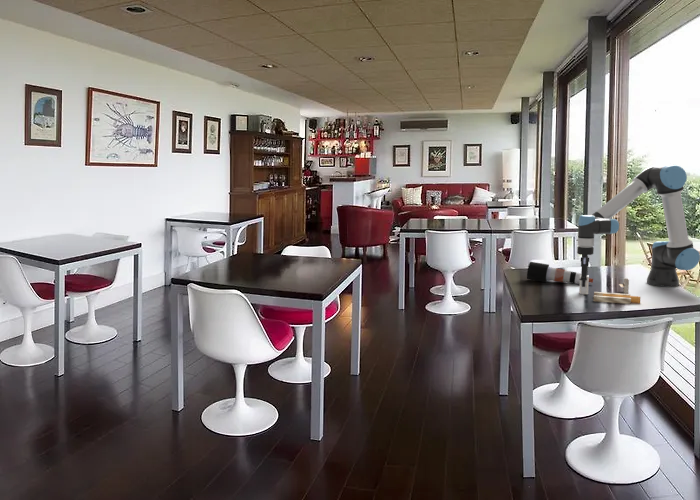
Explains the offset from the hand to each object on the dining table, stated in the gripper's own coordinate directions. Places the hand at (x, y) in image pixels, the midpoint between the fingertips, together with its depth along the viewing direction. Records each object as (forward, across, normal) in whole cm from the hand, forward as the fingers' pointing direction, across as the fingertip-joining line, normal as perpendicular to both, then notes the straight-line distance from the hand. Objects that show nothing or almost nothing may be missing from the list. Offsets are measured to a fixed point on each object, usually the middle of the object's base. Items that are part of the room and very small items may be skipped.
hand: (583, 291), depth 291 cm
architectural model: (+2, -9, +19) cm, 21 cm away
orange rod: (+1, +11, +17) cm, 20 cm away
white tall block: (+1, 0, 0) cm, 1 cm away
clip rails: (+1, +11, +13) cm, 17 cm away
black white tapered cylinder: (+1, -23, -13) cm, 27 cm away
